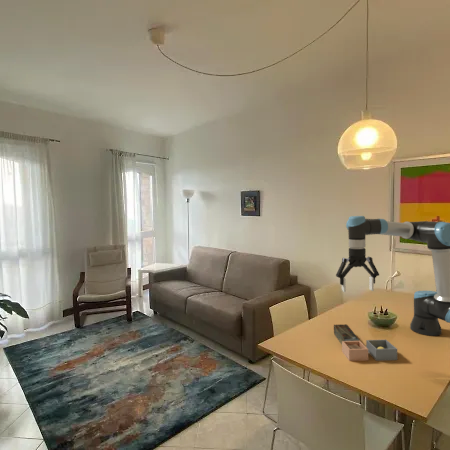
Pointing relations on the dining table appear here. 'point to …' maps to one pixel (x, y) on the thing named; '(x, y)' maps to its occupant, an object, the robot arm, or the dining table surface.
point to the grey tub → (381, 350)
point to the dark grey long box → (344, 333)
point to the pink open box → (355, 351)
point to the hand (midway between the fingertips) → (357, 290)
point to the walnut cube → (354, 346)
